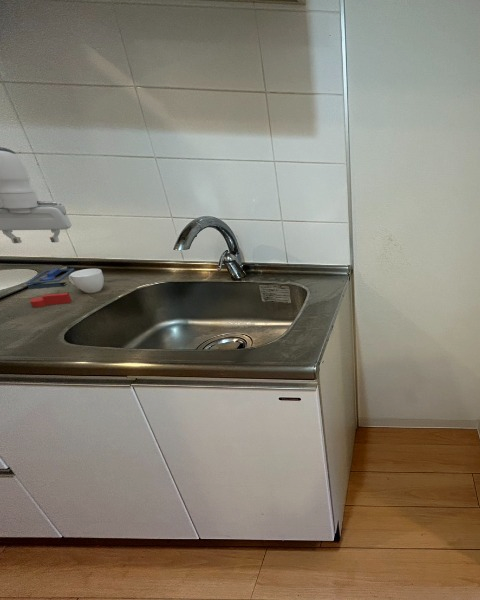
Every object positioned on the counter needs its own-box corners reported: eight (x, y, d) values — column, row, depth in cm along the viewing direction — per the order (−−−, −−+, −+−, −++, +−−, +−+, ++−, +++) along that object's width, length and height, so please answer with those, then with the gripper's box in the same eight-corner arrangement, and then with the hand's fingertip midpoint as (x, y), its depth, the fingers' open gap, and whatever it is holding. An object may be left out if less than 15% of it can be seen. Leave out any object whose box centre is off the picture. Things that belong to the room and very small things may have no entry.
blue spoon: (53, 276, 113) (50, 268, 112) (66, 275, 115) (62, 267, 114) (41, 285, 106) (37, 277, 105) (54, 284, 108) (50, 276, 106)
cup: (95, 295, 103) (88, 277, 100) (64, 294, 103) (55, 275, 100) (114, 286, 110) (107, 269, 107) (84, 285, 110) (77, 267, 107)
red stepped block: (73, 299, 100) (69, 291, 99) (68, 304, 97) (64, 295, 96) (36, 303, 96) (31, 294, 95) (30, 308, 94) (25, 299, 92)
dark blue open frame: (61, 286, 108) (58, 280, 106) (29, 289, 104) (25, 282, 103) (76, 274, 117) (73, 268, 116) (47, 276, 114) (44, 270, 113)
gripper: (66, 200, 107) (80, 239, 113) (-20, 198, 98) (0, 241, 104) (57, 203, 102) (73, 243, 108) (-34, 202, 93) (-12, 246, 99)
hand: (37, 242), depth 106 cm, fingers open, 8 cm apart
